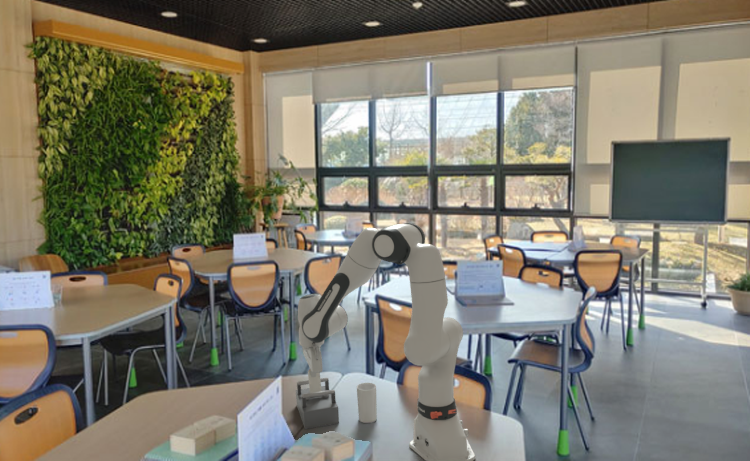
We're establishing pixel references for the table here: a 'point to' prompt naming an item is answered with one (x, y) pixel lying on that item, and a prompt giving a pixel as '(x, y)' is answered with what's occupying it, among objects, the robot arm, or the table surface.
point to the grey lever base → (317, 405)
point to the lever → (314, 383)
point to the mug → (367, 402)
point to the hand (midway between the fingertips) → (313, 376)
